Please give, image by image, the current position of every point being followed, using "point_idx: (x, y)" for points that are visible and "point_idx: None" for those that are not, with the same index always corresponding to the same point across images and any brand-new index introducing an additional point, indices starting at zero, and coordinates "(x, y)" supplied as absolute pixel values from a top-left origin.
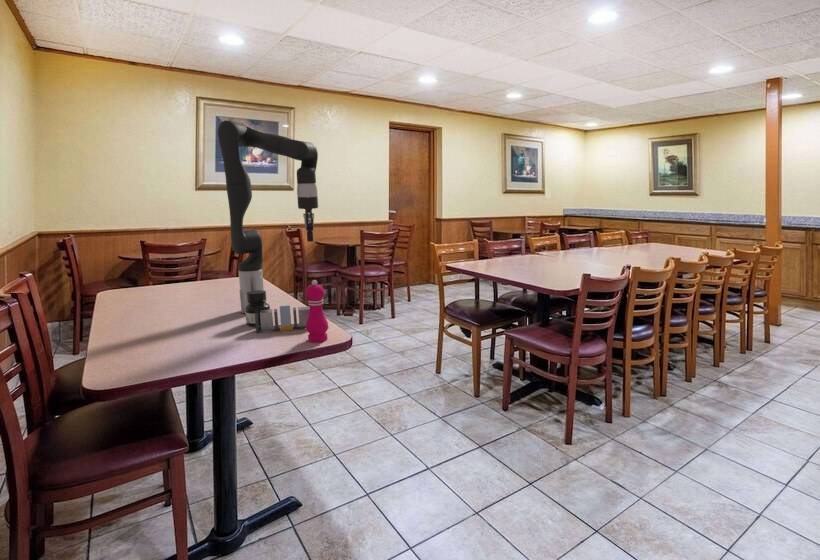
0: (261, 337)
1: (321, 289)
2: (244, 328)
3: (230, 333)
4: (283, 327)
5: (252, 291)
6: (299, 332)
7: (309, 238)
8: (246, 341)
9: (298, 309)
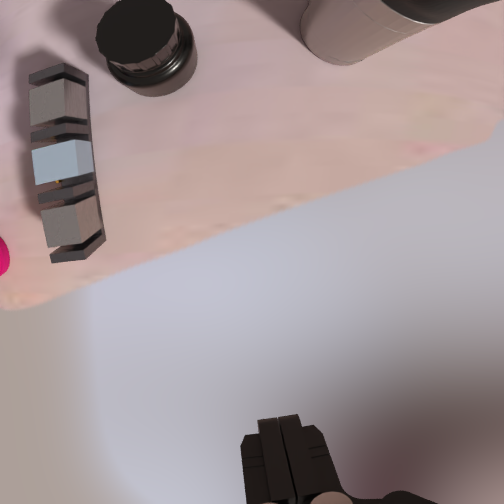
0: (21, 111)
1: None
2: None
3: (77, 17)
4: None
5: (154, 9)
6: (42, 203)
7: (243, 456)
8: (4, 85)
9: (47, 210)
